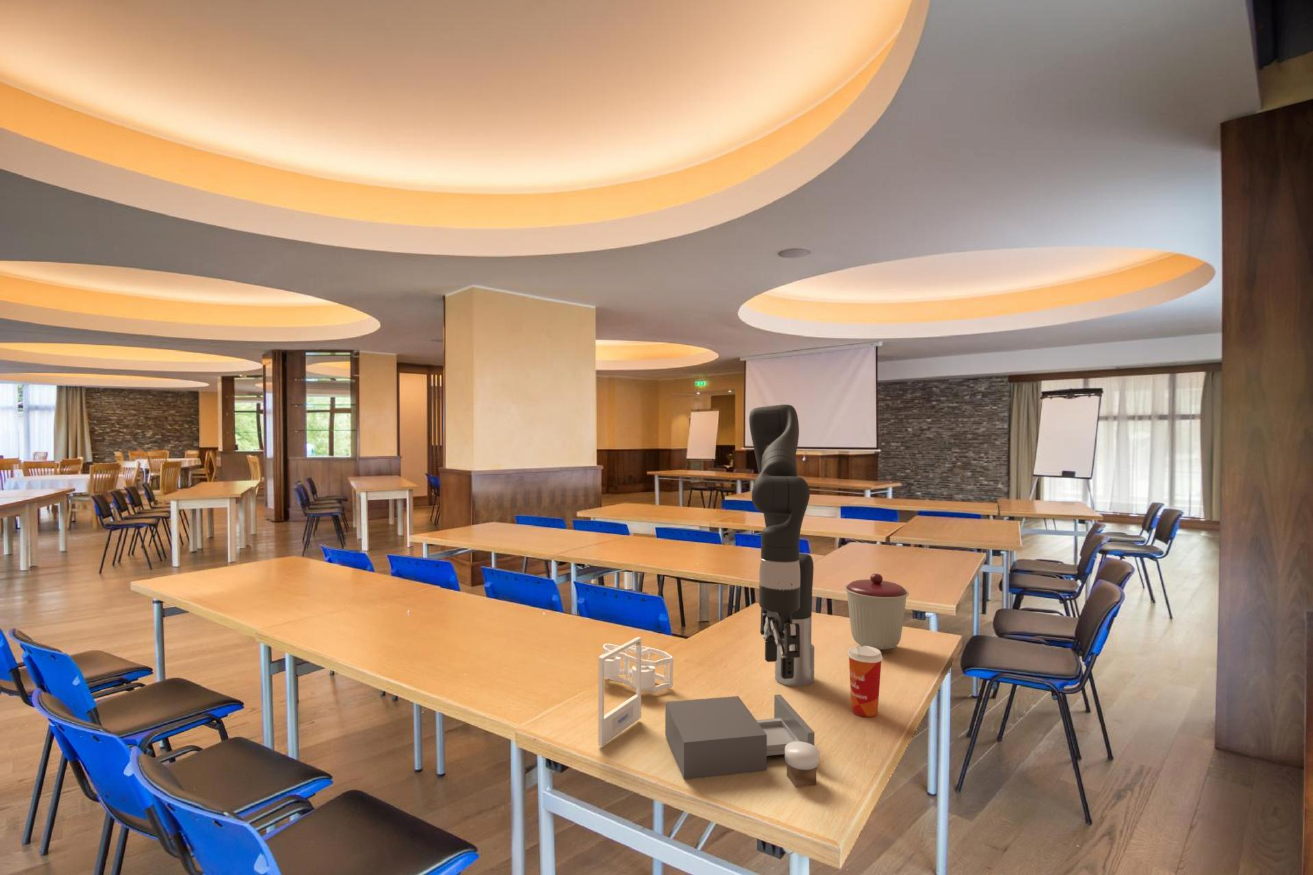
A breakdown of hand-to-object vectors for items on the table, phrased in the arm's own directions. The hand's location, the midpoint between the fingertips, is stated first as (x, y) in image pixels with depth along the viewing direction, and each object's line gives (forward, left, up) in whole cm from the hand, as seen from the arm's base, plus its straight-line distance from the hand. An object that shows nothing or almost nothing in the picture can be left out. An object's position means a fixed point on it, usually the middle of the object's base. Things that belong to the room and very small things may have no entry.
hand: (778, 669), depth 117 cm
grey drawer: (+2, -9, -20) cm, 22 cm away
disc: (-3, +4, -16) cm, 16 cm away
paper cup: (-29, -20, -20) cm, 41 cm away
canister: (-55, -60, -20) cm, 84 cm away
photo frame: (+27, -21, -20) cm, 40 cm away
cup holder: (+20, -47, -20) cm, 55 cm away
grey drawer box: (+10, -9, -20) cm, 24 cm away
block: (-3, +4, -20) cm, 20 cm away
